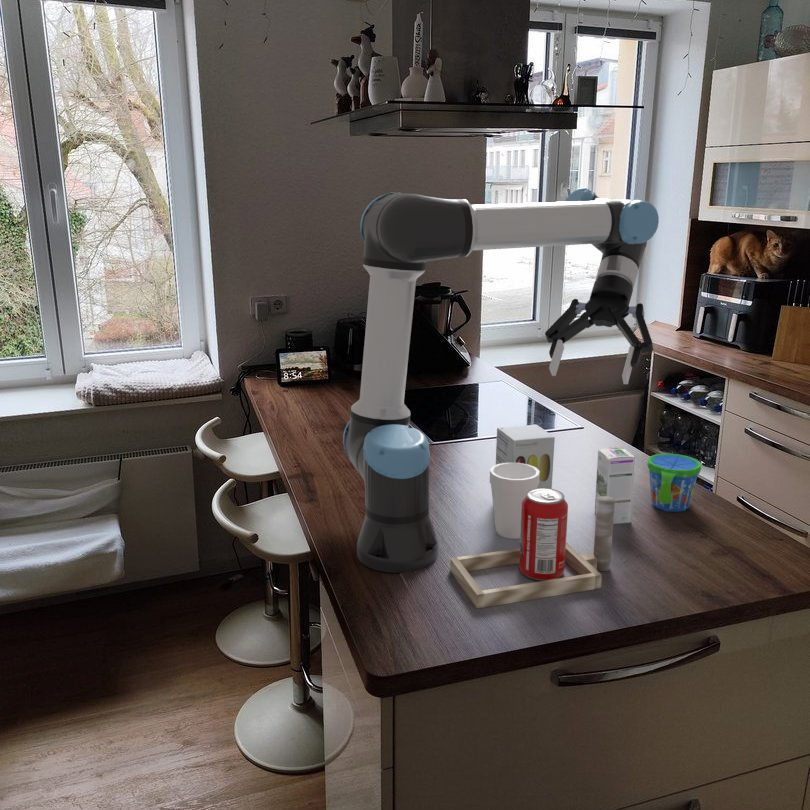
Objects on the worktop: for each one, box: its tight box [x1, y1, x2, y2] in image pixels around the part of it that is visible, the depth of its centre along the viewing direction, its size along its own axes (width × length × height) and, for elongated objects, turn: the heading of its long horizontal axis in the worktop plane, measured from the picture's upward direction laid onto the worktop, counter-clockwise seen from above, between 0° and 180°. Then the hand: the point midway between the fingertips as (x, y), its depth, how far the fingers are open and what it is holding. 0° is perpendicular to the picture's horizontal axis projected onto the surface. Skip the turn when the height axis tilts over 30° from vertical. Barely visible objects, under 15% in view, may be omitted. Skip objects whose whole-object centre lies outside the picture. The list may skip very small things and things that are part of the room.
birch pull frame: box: [449, 496, 615, 610], centre depth 132 cm, size 28×13×13 cm, turn 106°
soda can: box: [519, 488, 569, 582], centre depth 134 cm, size 8×8×15 cm
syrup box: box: [594, 447, 636, 525], centre depth 155 cm, size 6×6×14 cm
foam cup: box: [489, 463, 540, 540], centre depth 150 cm, size 10×9×13 cm
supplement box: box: [495, 424, 556, 489], centre depth 161 cm, size 10×9×17 cm
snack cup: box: [647, 453, 702, 513], centre depth 162 cm, size 16×10×10 cm
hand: (587, 376), depth 142 cm, fingers open, 13 cm apart
